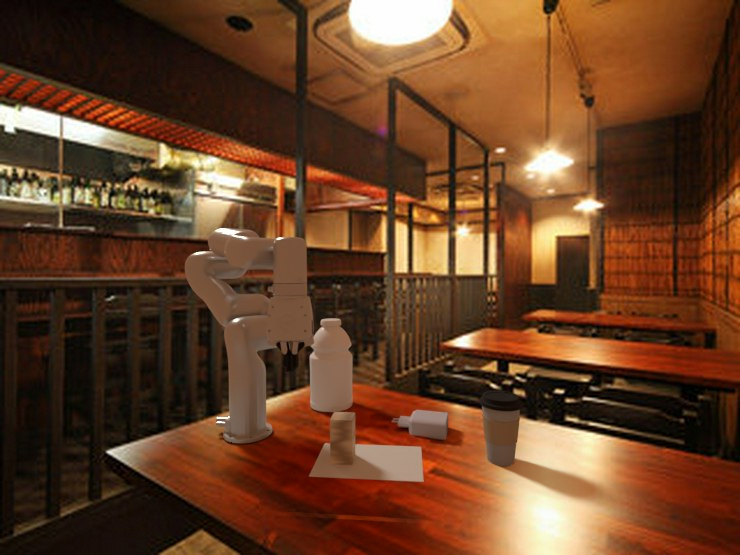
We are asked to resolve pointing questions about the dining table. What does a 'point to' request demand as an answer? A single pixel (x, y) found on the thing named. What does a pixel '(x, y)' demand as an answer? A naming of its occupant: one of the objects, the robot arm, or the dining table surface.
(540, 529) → the dining table surface
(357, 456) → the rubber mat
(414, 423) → the charger
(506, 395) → the coffee cup
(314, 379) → the bottle
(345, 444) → the maple block
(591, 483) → the dining table surface
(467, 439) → the dining table surface
